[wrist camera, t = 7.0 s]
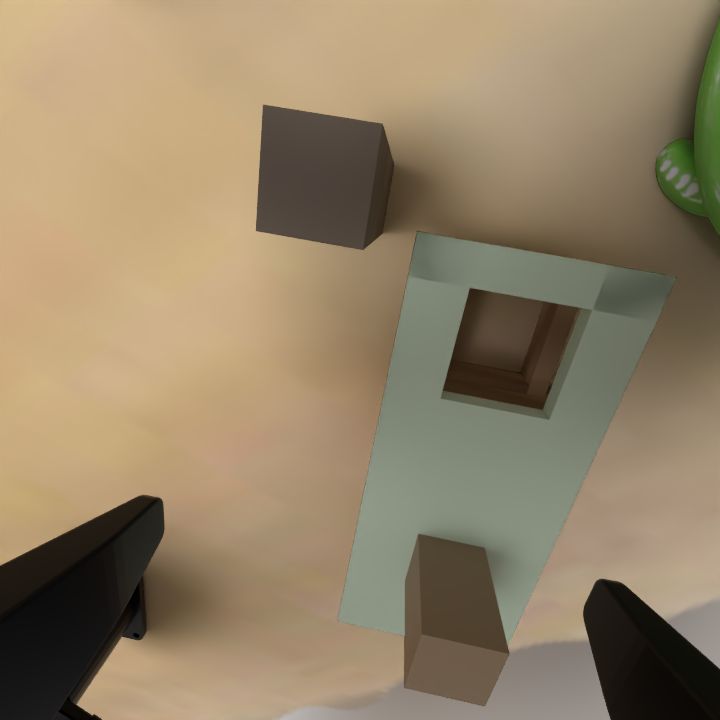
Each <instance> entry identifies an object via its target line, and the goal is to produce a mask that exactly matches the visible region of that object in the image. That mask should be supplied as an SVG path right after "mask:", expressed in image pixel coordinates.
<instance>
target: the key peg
mask: <svg viewBox="0 0 720 720" xmlns="http://www.w3.org/2000/svg"><path fill="white" fill-rule="evenodd" d="M393 168H394V162H393V159H392V155H391V151H390V148H389V144H388V141H387V137H386V134H385V130H384V127H383V124H380V123H374V122H368V121H361V120H355V119H349V118H343V117H337V116H330V115H324V114H318V113H312V112H305V111H299V110H293V109H287V108H281V107H274V106H268V105H263V116H262V133H261V151H260V168H259V185H258V203H257V220H256V231H259V232H265V233H271V234H276V235H282V236H287V237H293V238H299V239H304V240H310V241H316V242H321V243H327V244H333V245H338V246H344V247H350V248H355V249H361V250H363V249H365V248H366V247H367V246H368V245H369V244H371V243H372V242H373V241H374V240H375V239H376V238H378V237H379V236H380V235H381V234H382V232H383V226H384V220H385V214H386V208H387V202H388V197H389V191H390V185H391V179H392V173H393Z"/></svg>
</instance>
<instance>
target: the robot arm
mask: <svg viewBox="0 0 720 720" xmlns="http://www.w3.org/2000/svg"><path fill="white" fill-rule="evenodd" d="M163 534H164V509H163V501H162V499H161V498H159V497H154V496H148V495H140V496H138V497H136V498H134V499H132V500H130V501H128V502H126V503H124V504H122V505H120V506H118V507H116V508H114V509H112V510H110V511H108V512H106V513H104V514H102V515H100V516H98V517H96V518H94V519H92V520H90V521H88V522H86V523H84V524H82V525H80V526H78V527H76V528H74V529H72V530H70V531H68V532H66V533H64V534H62V535H60V536H58V537H56V538H54V539H52V540H50V541H48V542H46V543H44V544H42V545H40V546H38V547H36V548H34V549H32V550H30V551H28V552H26V553H24V554H22V555H20V556H19V557H17V558H15V559H13V560H11V561H9V562H7V563H5V564H3V565H1V566H0V720H102V719H101V718H99V717H98V716H96V715H95V714H94V715H93V716H92V715H91V714H89V713H88V712H86V711H85V710H83V709H82V708H80V707H79V706H77V705H76V704H77V703H78V701H79V700H80V698H81V697H82V695H83V694H84V692H85V691H86V689H87V688H88V686H89V685H90V683H91V682H92V680H93V679H94V677H95V676H96V674H97V673H98V671H99V670H100V669H101V667H102V666H103V664H104V663H105V661H106V660H107V658H108V657H109V655H110V654H111V652H112V651H113V649H114V648H115V646H116V645H117V643H118V642H119V640H120V639H121V637H126V638H131V639H135V640H141V639H142V638H143V637H144V635H145V633H146V621H145V605H144V589H143V577H142V575H143V573H144V571H145V570H146V568H147V566H148V564H149V562H150V560H151V558H152V556H153V555H154V553H155V551H156V549H157V547H158V545H159V543H160V541H161V539H162V537H163ZM583 617H584V622H585V626H586V630H587V634H588V638H589V642H590V645H591V649H592V653H593V657H594V661H595V665H596V669H597V672H598V676H599V680H600V684H601V687H602V692H603V696H604V699H605V702H606V706H607V709H608V712H609V716H610V719H611V720H720V669H719V668H718V667H717V666H716V665H715V664H714V663H713V662H711V661H710V660H709V659H708V658H707V657H706V656H705V655H703V654H702V653H701V652H700V651H699V650H698V649H697V648H695V647H694V646H693V645H692V644H691V643H690V642H689V641H688V640H687V639H685V638H684V637H683V636H682V635H681V634H680V633H678V632H677V631H676V630H675V629H674V628H673V627H672V626H671V625H670V624H668V623H667V622H666V621H665V620H664V619H663V618H662V617H660V616H659V615H658V614H657V613H656V612H655V611H654V610H653V609H651V608H650V607H649V606H648V605H647V604H646V603H645V602H644V601H642V600H641V599H640V598H639V597H638V596H637V595H636V594H634V593H633V592H632V591H631V590H630V589H629V588H628V587H627V586H625V585H624V584H622V583H620V582H618V581H612V580H607V579H599V580H597V581H596V582H595V584H594V586H593V589H592V591H591V593H590V595H589V597H588V599H587V601H586V603H585V605H584V610H583Z"/></svg>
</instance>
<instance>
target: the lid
mask: <svg viewBox="0 0 720 720" xmlns="http://www.w3.org/2000/svg"><path fill="white" fill-rule="evenodd" d="M676 278H677V277H672V276H668V275H664V274H659V273H654V272H648V271H642V270H637V269H631V268H625V267H620V266H614V265H608V264H602V263H597V262H591V261H585V260H580V259H574V258H568V257H563V256H557V255H551V254H546V253H540V252H534V251H529V250H523V249H517V248H511V247H506V246H500V245H494V244H489V243H483V242H477V241H472V240H466V239H460V238H455V237H449V236H443V235H437V234H432V233H426V232H420V231H417V234H416V239H415V244H414V249H413V253H412V258H411V263H410V268H409V273H408V278H407V283H406V288H405V292H404V297H403V302H402V307H401V312H400V317H399V322H398V327H397V331H396V336H395V341H394V346H393V351H392V356H391V361H390V366H389V370H388V375H387V380H386V385H385V390H384V395H383V400H382V405H381V409H380V414H379V419H378V424H377V429H376V434H375V439H374V444H373V448H372V453H371V458H370V463H369V468H368V473H367V478H366V483H365V488H364V492H363V497H362V502H361V507H360V512H359V517H358V522H357V527H356V531H355V536H354V541H353V546H352V551H351V556H350V561H349V566H348V570H347V575H346V580H345V585H344V590H343V595H342V600H341V605H340V610H339V616H338V621H339V622H344V623H348V624H353V625H357V626H361V627H366V628H370V629H375V630H379V631H384V632H388V633H392V634H397V635H401V636H404V688H407V689H412V690H416V691H420V692H425V693H429V694H433V695H438V696H442V697H446V698H451V699H455V700H459V701H464V702H468V703H472V704H477V705H481V706H485V705H486V703H487V701H488V699H489V697H490V695H491V692H492V690H493V688H494V686H495V684H496V682H497V680H498V677H499V675H500V673H501V671H502V669H503V667H504V665H505V662H506V660H507V658H508V656H509V650H508V644H509V642H510V640H511V638H512V636H513V634H514V631H515V629H516V627H517V625H518V623H519V620H520V618H521V616H522V614H523V612H524V610H525V607H526V605H527V603H528V601H529V599H530V596H531V594H532V592H533V590H534V588H535V586H536V583H537V581H538V579H539V577H540V575H541V573H542V570H543V568H544V566H545V564H546V562H547V559H548V557H549V555H550V553H551V551H552V549H553V546H554V544H555V542H556V540H557V538H558V536H559V533H560V531H561V529H562V527H563V525H564V522H565V520H566V518H567V516H568V514H569V512H570V509H571V507H572V505H573V503H574V501H575V498H576V496H577V494H578V492H579V490H580V488H581V485H582V483H583V481H584V479H585V477H586V475H587V472H588V470H589V468H590V466H591V464H592V461H593V459H594V457H595V455H596V453H597V451H598V448H599V446H600V444H601V442H602V440H603V437H604V435H605V433H606V431H607V429H608V427H609V424H610V422H611V420H612V418H613V416H614V414H615V411H616V409H617V407H618V405H619V403H620V400H621V398H622V396H623V394H624V392H625V390H626V387H627V385H628V383H629V381H630V379H631V377H632V374H633V372H634V370H635V368H636V366H637V363H638V361H639V359H640V357H641V355H642V353H643V350H644V348H645V346H646V344H647V342H648V339H649V337H650V335H651V333H652V331H653V329H654V326H655V324H656V322H657V320H658V318H659V316H660V313H661V311H662V309H663V307H664V305H665V302H666V300H667V298H668V296H669V294H670V292H671V289H672V287H673V285H674V283H675V281H676ZM470 288H474V289H479V290H485V291H490V292H496V293H501V294H507V295H512V296H518V297H523V298H529V299H534V300H540V301H545V302H551V303H556V304H562V305H567V306H573V307H578V308H581V311H580V313H579V316H578V318H577V321H576V324H575V326H574V329H573V332H572V334H571V337H570V340H569V342H568V345H567V347H566V350H565V353H564V355H563V358H562V361H561V363H560V366H559V368H558V371H557V374H556V376H555V379H554V382H553V384H552V387H551V390H550V392H549V395H548V397H547V400H546V403H545V405H544V408H543V410H540V409H534V408H529V407H524V406H519V405H514V404H509V403H504V402H498V401H493V400H488V399H483V398H478V397H473V396H468V395H463V394H457V393H452V392H447V391H443V387H444V383H445V379H446V376H447V372H448V368H449V364H450V360H451V357H452V353H453V349H454V345H455V342H456V338H457V334H458V330H459V327H460V323H461V319H462V315H463V312H464V308H465V304H466V300H467V297H468V293H469V289H470Z"/></svg>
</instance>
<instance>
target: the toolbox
mask: <svg viewBox="0 0 720 720" xmlns="http://www.w3.org/2000/svg"><path fill="white" fill-rule="evenodd" d="M577 309H578V307H573V306H567V305H562V304H556V303H551V302H545V303H544V306H543V308H542V311H541V314H540V317H539V320H538V323H537V326H536V329H535V332H534V335H533V338H532V341H531V344H530V346H529V349H528V352H527V355H526V358H525V361H524V364H523V367H522V370H521V373H517V372H511V371H506V370H501V369H496V368H490V367H485V366H480V365H475V364H469V363H464V362H459V361H454V360H450V364H449V368H448V372H447V376H446V379H445V383H444V387H443V391H447V392H452V393H457V394H463V395H468V396H473V397H478V398H483V399H488V400H493V401H498V402H504V403H509V404H514V405H519V406H524V407H529V408H534V409H540V410H543V408H544V405H545V403H546V400H547V397H548V395H549V392H550V390H551V387H548V386H549V384H550V381H551V379H552V376H553V373H554V371H555V368H556V365H557V363H558V360H559V357H560V355H561V352H562V349H563V347H564V344H565V341H566V339H567V336H568V333H569V331H570V328H571V325H572V323H573V320H574V317H575V315H576V312H577Z"/></svg>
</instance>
